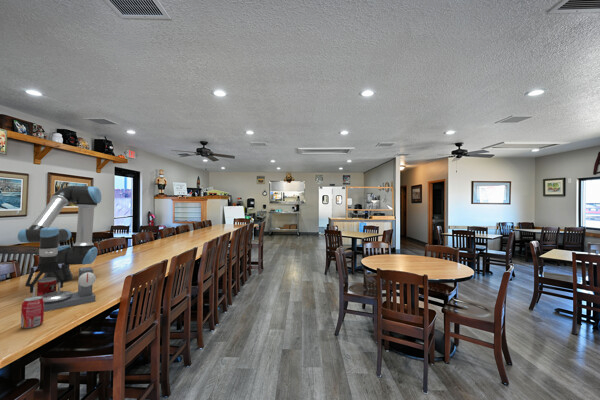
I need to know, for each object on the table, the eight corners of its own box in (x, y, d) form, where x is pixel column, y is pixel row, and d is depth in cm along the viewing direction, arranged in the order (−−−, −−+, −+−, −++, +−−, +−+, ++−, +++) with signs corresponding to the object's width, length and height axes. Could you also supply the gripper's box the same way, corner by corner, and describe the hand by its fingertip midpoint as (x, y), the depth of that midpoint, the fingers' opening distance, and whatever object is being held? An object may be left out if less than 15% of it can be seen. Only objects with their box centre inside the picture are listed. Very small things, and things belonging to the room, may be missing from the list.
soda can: (31, 322, 119) (32, 295, 119) (47, 321, 120) (49, 295, 120) (15, 329, 112) (16, 301, 112) (33, 329, 113) (34, 301, 113)
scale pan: (34, 298, 137) (34, 295, 137) (70, 292, 148) (70, 289, 148) (36, 306, 128) (36, 302, 128) (74, 299, 138) (74, 295, 138)
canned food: (44, 302, 141) (45, 281, 141) (32, 300, 143) (33, 280, 143) (59, 297, 149) (60, 277, 149) (48, 296, 150) (49, 276, 151)
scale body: (31, 305, 137) (33, 272, 137) (90, 294, 155) (92, 265, 155) (33, 313, 127) (34, 278, 127) (95, 301, 145) (97, 270, 145)
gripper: (19, 259, 135) (17, 303, 135) (75, 254, 152) (73, 293, 151) (19, 256, 141) (17, 299, 140) (73, 252, 157) (71, 290, 157)
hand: (46, 296), depth 146 cm, fingers open, 9 cm apart
